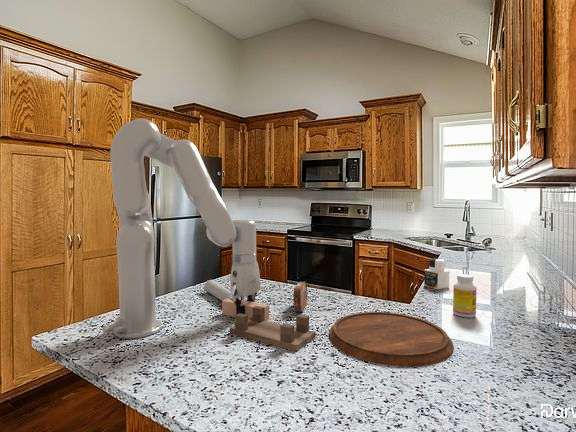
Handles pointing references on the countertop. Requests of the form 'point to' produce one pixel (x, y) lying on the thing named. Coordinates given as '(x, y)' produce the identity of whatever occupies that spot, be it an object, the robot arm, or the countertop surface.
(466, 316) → the supplement bottle
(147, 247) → the robot arm
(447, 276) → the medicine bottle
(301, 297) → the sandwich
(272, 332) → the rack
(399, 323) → the cutting board
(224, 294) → the tube
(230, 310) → the clay strip
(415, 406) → the countertop surface
